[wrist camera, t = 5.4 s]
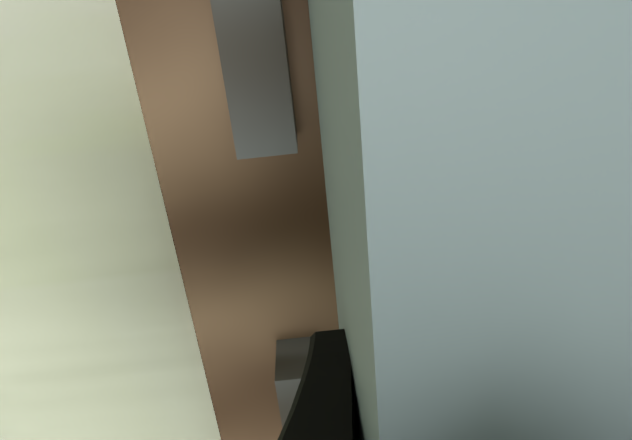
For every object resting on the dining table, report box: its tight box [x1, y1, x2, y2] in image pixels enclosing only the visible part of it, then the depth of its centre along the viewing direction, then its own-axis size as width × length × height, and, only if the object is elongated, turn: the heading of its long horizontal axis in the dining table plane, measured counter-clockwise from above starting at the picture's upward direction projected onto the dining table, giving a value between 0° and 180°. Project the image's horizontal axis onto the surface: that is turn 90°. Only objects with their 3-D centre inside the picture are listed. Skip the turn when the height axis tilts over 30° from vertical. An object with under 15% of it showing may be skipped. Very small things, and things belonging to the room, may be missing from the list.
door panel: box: [308, 0, 632, 440], centre depth 9 cm, size 16×4×8 cm, turn 6°
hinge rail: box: [115, 0, 339, 440], centre depth 13 cm, size 26×12×7 cm, turn 6°
